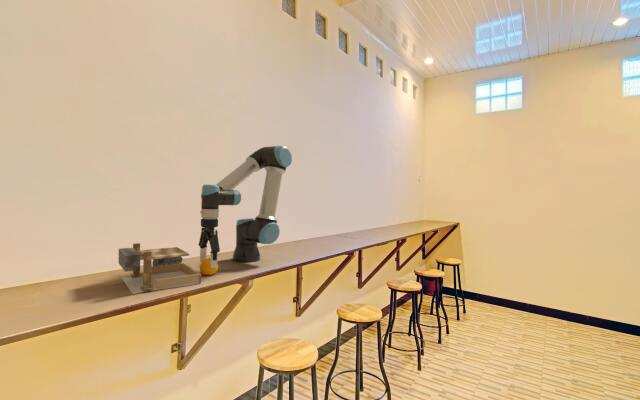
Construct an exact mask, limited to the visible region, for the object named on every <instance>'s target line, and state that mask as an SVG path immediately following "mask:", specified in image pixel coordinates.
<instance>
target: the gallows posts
mask: <svg viewBox="0 0 640 400" xmlns="http://www.w3.org/2000/svg"><path fill="white" fill-rule="evenodd" d="M132 248H133V249H135V250H137V249H138V250H139V251H140V250H141V242H135V243H134V242H133V243H132ZM152 262H153V259H152V252H151V251H146V252H144V256H143V263H142V264H143V265H142V266H143V268H142V269H143V273H141V269H140V270H136V271H132V274H129V277H131V278H136V277H142V275H143V287H140V289H141V290H142V291H144V292H143V293H149V292H152V291H151V290H154V287H153V286H152V285H151V267H153V264H152ZM145 291H146V292H145ZM148 291H149V292H148Z"/></svg>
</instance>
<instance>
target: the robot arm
mask: <svg viewBox="0 0 640 400" xmlns="http://www.w3.org/2000/svg"><path fill="white" fill-rule="evenodd" d="M292 161H293V155H292V152H291V151H290V149H289V148H288V147H287V146H286V145H273V146H263V147H261V148H259V149H257V150H256V151H254V152H253V153H251V154H249V155H248V156H247V157H246V158H245V161H244V162H243V163H242V164H240V165H239V166H238V167H236V168H235V169H234V170H233V171H231V172H230V173H229V174H227V175H226V176H225V177H224V178H222V179H220V181H219V182H218V183H216V184H203V185H202V187H201V195H200V198H201V202H200V203H201V211H199V212H200V217H201V219H200V227H201V230H200V231H201V232H200V237H199V242H198V247H199V251H200V252H199V255H200V256H199V263H201V262H202V261H203V260H205V259H207V253H208V252H207V249H208V242H209V246H210V258H211V264H210V268H214V267H217V264H218V253H220V252H221V251H220V243H219V236H218V229H215V228H217V227H218V226H219V219H218V218H219V211H220V210H219V208H220V207H219V206H238V205H239V204H240V203H241V200H242V194H241V191H239V190H237V189H235V188H237V187H238V186H239V185H240V184H241V183H242V182H244V181H245V180H246V179H248V178H249V177H250V176H251V175H252V174H254V173H257V172H259V171H260V170H262V169H265V171H266V173H265V174H266V175H265V178H264V186H263V191H262V196H261V202H260V208H259V212H258V215H256V216H255V217H254V218H253V217H251V218H239V219H237V220H236V226H235V229H236V230H235V232H236V233H235V235H236V236H235V237H236V238H235V248H234V251H233V254H232V261H234V262H237V263H239V262H241V263H246V262H247V263H249V262H250V263H252V262H256V261H257V262H258V261H260V260H261V254H260V251H259V247H258V244H261V245H271V244H274V243H275V242H276V241H277V240H278V238H279V236H280V231H281V229H280V226H279V225H278V224H277V223H278V220H277V218H276V214H277V213H276V212H277V208H278V201H279V195H280V194H279V193H280V189H281V183H282V182H281V181H282V178H283V175H284V174H285V173H286V170H287V168H289V166H291V164H292Z"/></svg>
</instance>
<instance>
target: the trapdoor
mask: <svg viewBox="0 0 640 400" xmlns="http://www.w3.org/2000/svg"><path fill="white" fill-rule="evenodd" d="M146 251H151V252H152V260H153V259H160V258H170V257H180V256H181V257H188V256H190V253H189V252H187V251H185V250H183V249H181V248H179V247H178V246H175V247H163V248H152V249H151V248H149V249H140V251H139V250H138V249H137V250H135V249H133V247H124V248H123V247H122V248H118V264H119V266H120V267H121V268H122V270H123V271H124V272H125V273H127V272H133V271H136V270H140V271H141V261H142V260H143V256H144V252H146Z"/></svg>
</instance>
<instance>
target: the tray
mask: <svg viewBox="0 0 640 400" xmlns="http://www.w3.org/2000/svg"><path fill="white" fill-rule="evenodd" d="M122 280H123V282H124V284H125V285H126V287H127V288H128V289H129V291H130V292H131V293H132V294H133V295H134V294H135V295H136V294H141V293H142V292H143V293H147V292H146V291H145V292H144V291H142V290H141V289H140V287H143V274H142V277H136V278H131V276H125V277H122ZM200 284H202V273H201V272H199V271H197V270H195V269H194V268H192V267H191V266H189V265H187V264H186V263H184V262H181V264H172V265H163V266H154V267H153V266H152V267H151V285H152V286H153V287H154V290H156V291H160V289H162V290H169V289H174V288H175V289H176V288H181V287H187V286H194V285H200ZM154 290H151V291H150V292H155V291H154ZM143 293H142V294H143Z"/></svg>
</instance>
